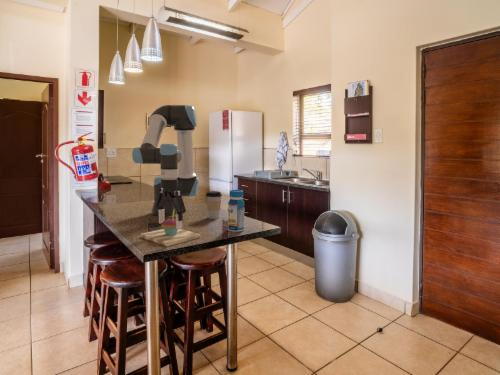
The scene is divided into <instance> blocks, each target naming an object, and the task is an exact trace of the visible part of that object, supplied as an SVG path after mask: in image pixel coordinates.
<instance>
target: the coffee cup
mask: <svg viewBox="0 0 500 375" xmlns="http://www.w3.org/2000/svg"><path fill="white" fill-rule="evenodd" d="M222 196H223V195H222V192H221V191H217V190H215V191H213V190H212V191H207V192H206V194H205V197H206V206H207V208H206V209H207V212H208V213H207V214H208V219H211V220H216V219H219V218H220V213H221V212H220V211H221V204H222Z"/></svg>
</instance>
